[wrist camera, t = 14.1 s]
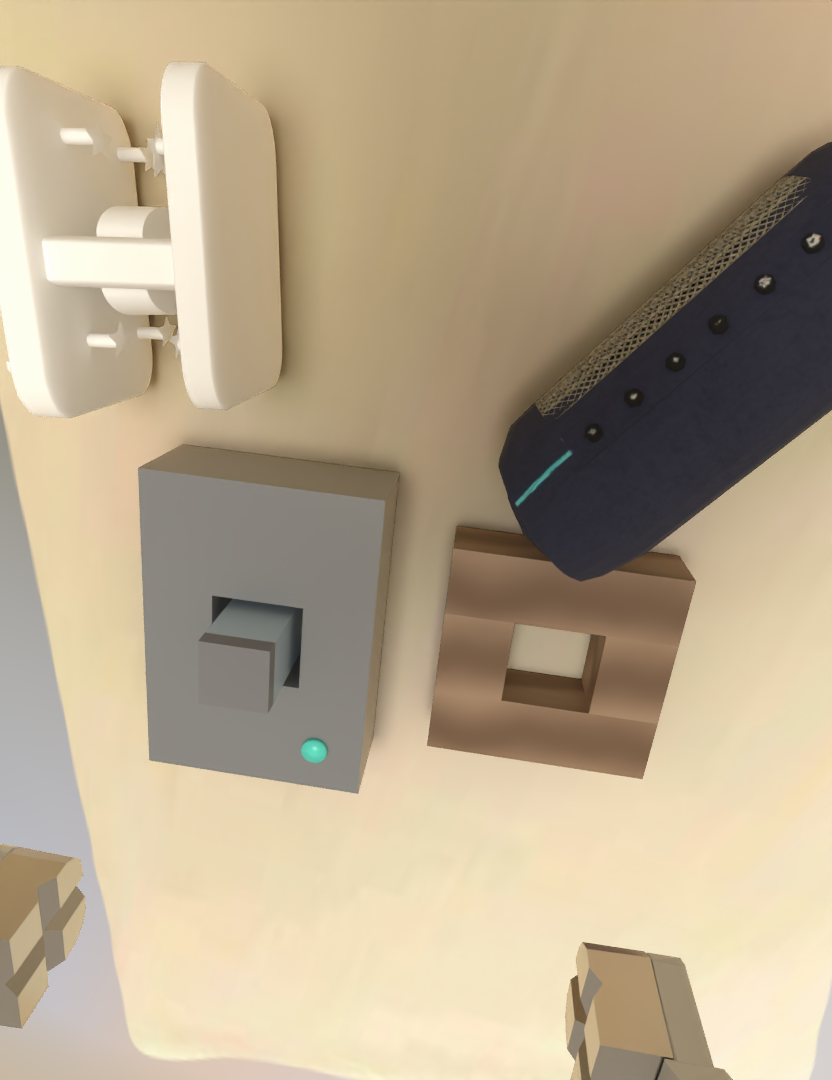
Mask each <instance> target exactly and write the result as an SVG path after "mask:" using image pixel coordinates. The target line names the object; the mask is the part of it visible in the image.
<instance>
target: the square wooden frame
mask: <svg viewBox="0 0 832 1080" xmlns="http://www.w3.org/2000/svg"><path fill="white" fill-rule="evenodd" d="M695 584H696V581H695V579H694V578H693V576H692V575H691V573H690V572H689V570H688V569H687V567H686V565H685V564H684V562H683V561H682V559H681V558H680V556H676V555H669V554H661V553H654V552H647V553H646V554H644V555H642V556H640V557H638V558H636V559H634V560H632V561H630V562H628V563H627V564H625V565H623V566H621V567H619V568H617V569H615V570H613V571H611V572H609V573H608V574H606V575H604V576H601V577H597V578H593V579H589V580H585V581H582V582H580V581H578V580H575V579H573V578H570V577H569V576H567V575H565V574H564V573H563V572H561V571H560V570H559V569H558V568H557V567H556V566H555V565H554V564H553V563H552V561H551V560H550V559H548V558H547V557H546V556H545V555H544V554H542V553H541V552H540V551H539V549H538V548H537V547H536V546H535V545H534V544H533V543H532V542H531V541H530V540H529V539H528V538H527V537H526V536H525V535H520V534H513V533H505V532H498V531H490V530H483V529H475V528H468V527H461V526H457V529H456V535H455V541H454V548H453V555H452V563H451V570H450V578H449V585H448V593H447V600H446V608H445V615H444V623H443V630H442V638H441V645H440V653H439V660H438V668H437V675H436V683H435V690H434V698H433V705H432V713H431V720H430V728H429V735H428V743H427V746H432V747H438V748H445V749H451V750H458V751H464V752H471V753H477V754H484V755H490V756H497V757H503V758H509V759H516V760H522V761H529V762H535V763H542V764H548V765H555V766H561V767H568V768H574V769H581V770H587V771H594V772H600V773H607V774H613V775H620V776H626V777H633V778H639V779H643V775H644V772H645V768H646V764H647V761H648V757H649V753H650V750H651V746H652V742H653V739H654V735H655V731H656V728H657V724H658V720H659V717H660V713H661V709H662V706H663V702H664V698H665V695H666V691H667V687H668V684H669V680H670V676H671V672H672V669H673V665H674V661H675V658H676V654H677V650H678V647H679V643H680V639H681V636H682V632H683V628H684V625H685V621H686V617H687V614H688V610H689V606H690V603H691V599H692V595H693V592H694V588H695ZM515 623H517V624H524V625H531V626H538V627H545V628H552V629H559V630H566V631H573V632H580V633H587V634H591V639H590V644H589V648H588V653H587V657H586V662H585V666H584V671H583V675H582V680H581V679H574V678H567V677H560V676H553V675H547V674H540V673H533V672H526V671H519V670H513V669H507V665H508V659H509V653H510V647H511V642H512V636H513V630H514V624H515Z"/></svg>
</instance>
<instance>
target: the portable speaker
mask: <svg viewBox="0 0 832 1080" xmlns="http://www.w3.org/2000/svg"><path fill="white" fill-rule="evenodd" d="M743 229H744V230H743ZM742 230H743V231H742ZM734 237H735V239H733V238H734ZM731 243H732V244H731ZM727 249H728V250H727ZM722 251H723V252H722ZM720 256H721V257H720ZM708 257H709V258H708ZM714 258H715V259H714ZM717 261H719V262H718V263H717ZM700 264H701V265H700ZM699 265H700V266H699ZM710 268H711V269H710ZM697 270H698V271H697ZM705 270H706V271H705ZM692 272H693V273H692ZM707 274H709V275H707ZM690 276H691V277H690ZM701 276H704V277H701ZM689 277H690V278H689ZM688 278H689V279H688ZM684 279H685V280H684ZM701 281H702V282H701ZM687 282H688V283H687ZM681 284H683V285H682V286H681ZM699 284H701V285H699ZM697 285H698V286H697ZM693 286H694V287H693ZM676 287H677V288H676ZM680 288H681V289H680ZM697 288H698V289H697ZM679 289H680V291H679ZM674 291H675V292H674ZM690 291H693V292H692V293H690ZM685 293H687V294H685ZM676 295H677V296H676ZM671 296H672V298H671ZM685 297H686V299H685V300H682V299H683V298H685ZM689 297H690V298H689ZM666 298H667V300H666ZM678 298H679V301H678ZM674 300H675V302H674ZM669 302H670V303H669ZM663 304H664V305H663ZM676 304H678V305H677V307H675V305H676ZM681 304H682V306H681ZM667 306H668V307H667ZM666 307H667V309H666ZM672 307H673V308H672ZM661 309H662V310H661ZM656 310H657V311H656ZM655 311H656V312H655ZM668 311H669V314H668ZM665 312H666V314H665ZM673 312H674V313H673ZM659 314H660V316H658V315H659ZM653 316H654V317H653ZM657 319H658V320H657ZM660 320H661V321H660ZM634 324H635V325H634ZM655 325H657V326H655ZM650 326H652V327H650ZM632 329H633V330H632ZM648 329H651V330H648ZM627 330H628V331H627ZM638 331H639V332H638ZM625 335H626V336H625ZM642 335H644V336H643V337H640V336H642ZM624 336H625V337H624ZM620 337H621V338H620ZM636 337H638V338H636ZM619 338H620V339H619ZM615 339H616V340H615ZM623 340H624V341H623ZM618 341H619V343H617V342H618ZM626 343H627V344H626ZM612 344H613V345H612ZM628 344H630V345H628ZM616 346H617V347H616ZM615 347H616V348H615ZM610 348H612V349H611V350H610ZM618 350H619V352H618ZM605 351H606V352H605ZM613 352H614V353H613ZM608 353H609V355H608ZM603 355H604V356H603ZM602 356H603V357H602ZM611 356H612V357H611ZM605 359H607V360H605ZM600 360H601V361H600ZM831 410H832V142H830V143H827V144H825V145H823V146H822V147H820V148H818V149H816V150H814V151H812V152H811V153H810V154H809V155H808V156H806V157H805V158H804V159H803V160H802V161H801V162H799V163H798V164H797V165H796V166H795V167H794V168H792V169H791V170H790V171H789V172H788V173H787V174H785V175H784V176H783V177H782V178H781V179H780V180H778V181H777V182H776V183H775V184H774V185H773V186H772V187H771V188H769V189H768V191H767V192H765V193H764V194H763V195H762V196H761V197H760V198H759V199H758V200H757V201H755V202H754V203H753V204H752V205H751V206H750V207H749V208H748V209H747V210H745V211H744V212H743V213H742V214H741V215H740V216H739V217H738V218H737V219H735V221H734V222H733V223H731V224H730V225H729V226H728V227H727V228H726V229H725V230H724V231H723V232H721V233H720V234H719V235H718V236H717V237H716V238H715V239H714V240H713V241H711V242H710V243H709V244H708V245H707V246H706V247H705V248H704V249H703V250H702V251H701V252H700V253H699V254H697V255H696V256H695V257H694V258H693V259H692V260H691V261H690V262H688V263H687V264H686V265H685V266H684V267H683V268H682V269H681V270H680V271H679V272H678V273H677V274H676V275H674V276H673V277H672V278H671V279H670V280H669V281H668V282H667V283H665V284H664V285H663V286H662V287H661V288H660V289H659V290H658V291H657V292H656V293H655V294H654V295H653V296H651V297H650V298H649V299H648V300H647V301H646V302H645V303H644V304H642V305H641V306H640V307H639V308H638V309H637V310H636V311H635V312H634V313H633V314H632V315H631V316H629V317H628V318H627V319H626V320H625V321H624V322H623V323H622V324H621V325H619V326H618V327H617V328H616V329H615V330H614V331H613V332H612V333H611V334H610V335H609V336H608V337H606V338H605V339H604V340H603V341H602V342H601V343H600V344H599V345H597V346H596V347H595V348H594V349H593V350H592V351H591V352H590V353H589V354H588V355H587V356H586V357H584V358H583V359H582V360H581V361H580V362H579V363H578V364H577V365H576V366H575V367H574V368H572V369H571V370H570V371H569V372H568V373H567V374H566V375H565V376H564V377H562V378H561V379H560V380H559V381H558V382H557V383H556V384H555V385H554V386H553V387H552V388H550V389H549V390H548V391H547V392H546V393H545V394H544V395H543V396H542V397H541V398H540V399H539V400H537V401H536V402H535V403H534V404H533V405H532V406H531V407H530V408H529V409H528V410H527V411H526V412H525V413H524V414H523V415H522V416H521V417H520V418H519V419H518V420H517V421H516V422H515V423H514V424H513V425H512V426H511V428H510V430H509V432H508V435H507V438H506V441H505V444H504V447H503V450H502V453H501V456H500V459H499V470H500V473H501V476H502V479H503V482H504V485H505V488H506V491H507V494H508V499H509V502H510V505H511V507H512V510H513V512H514V514H515V516H516V518H517V521H518V523H519V525H520V527H521V529H522V532H523V534H524V535H525V536H526V537H527V538H528V539H529V540H530V541H531V542H532V543H533V544H534V545H535V546H536V547H537V548H538V549H539V551H540V552H541V553H542V554H544V555H545V556H546V557H547V558H548V559H550V560H551V561H552V563H553V564H554V565H555V566H556V567H557V568H558V569H559V570H560V571H561V572H563V573H564V574H565V575H567V576H569V577H570V578H573V579H575V580H578V581H580V582H582V581H585V580H589V579H593V578H597V577H601V576H604V575H606V574H608V573H609V572H611V571H613V570H615V569H617V568H619V567H621V566H623V565H625V564H627V563H628V562H630V561H632V560H634V559H636V558H638V557H640V556H642V555H644V554H646V553H647V552H648V551H650V550H651V549H652V548H653V547H655V546H656V545H657V544H659V543H660V542H661V541H663V540H664V539H665V538H666V537H668V536H669V535H670V534H672V533H673V532H674V531H675V530H677V529H678V528H679V527H681V526H682V525H683V524H685V523H686V522H687V521H688V520H690V519H691V518H692V517H694V516H695V515H696V514H697V513H699V512H700V511H701V510H703V509H704V508H705V507H707V506H708V505H709V504H710V503H712V502H713V501H714V500H716V499H717V498H718V497H720V496H721V495H722V494H723V493H725V492H726V491H727V490H729V489H730V488H731V487H732V486H734V485H735V484H736V483H738V482H739V481H740V480H742V479H743V478H744V477H745V476H747V475H748V474H749V473H751V472H752V471H753V470H754V469H756V468H757V467H758V466H760V465H761V464H762V463H764V462H765V461H766V460H767V459H769V458H770V457H771V456H773V455H774V454H775V453H776V452H778V451H779V450H780V449H782V448H783V447H784V446H786V445H787V444H788V443H789V442H791V441H792V440H793V439H795V438H796V437H797V436H798V435H800V434H801V433H802V432H804V431H805V430H806V429H808V428H809V427H810V426H811V425H813V424H814V423H815V422H817V421H818V420H819V419H821V418H822V417H823V416H824V415H826V414H827V413H828V412H830V411H831Z"/></svg>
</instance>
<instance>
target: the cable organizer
mask: <svg viewBox="0 0 832 1080" xmlns="http://www.w3.org/2000/svg"><path fill="white" fill-rule="evenodd" d="M160 110H161V125H162V137H163V138H162V137H161V134H160V130H159V126H158V122H157V126H156V134H155V139H147V142H148V144H147V148H141V147H139V148H135V147H131V144H130V140H129V137H128V133H127V130H126V128H125V125H124V123H123V121H122V119H121V117H120V115H119V114H118V112H117V111H116V110H115V109H114V108H112V107H110V106H108V105H106V104H104V103H101V102H99V101H97V100H95V99H92V98H90V97H88V96H86V95H84V94H81V93H79V92H77V91H75V90H72V89H70V88H68V87H66V86H63V85H61V84H59V83H57V82H54V81H52V80H50V79H48V78H45V77H43V76H41V75H39V74H36V73H34V72H32V71H30V70H28V69H25V68H23V67H19V66H0V308H1V313H0V315H2V320H3V326H4V332H5V338H6V344H7V350H8V356H9V361H6V363H7V368H8V370H9V372H11V374H12V378H13V382H14V385H15V388H16V391H17V396H18V397H19V398H20V399H21V401H22V403H23V404H24V406H25V407H26V408H27V410H28V411H30V412H31V413H32V414H34V415H36V416H39V417H55V418H73V417H76V416H79V415H82V414H85V413H88V412H91V411H94V410H97V409H100V408H103V407H106V406H109V405H112V404H115V403H118V402H121V401H124V400H128V399H131V398H134V397H137V396H140V395H142V394H144V393H145V392H146V390H147V388H148V386H149V383H150V379H151V374H152V346H151V339H160V340H163V346H164V345H165V344H166V343H167V342H168V341H170V342H171V343H173V344H174V345H175V346H176V349H175V359H176V358H177V357H178V355H179V354H181V365H182V373H183V379H184V383H185V387H186V390H187V393H188V395H189V398H190V400H191V401H192V403H193V404H194V405H195V406H196V407H197V408H200V409H218V410H227V409H230V408H232V407H234V406H236V405H238V404H240V403H242V402H244V401H246V400H248V399H250V398H252V397H254V396H256V395H258V394H260V393H262V392H264V391H266V390H268V389H270V388H272V387H274V386H275V385H276V384H277V382H278V379H279V375H280V370H281V363H282V324H281V294H280V264H279V234H278V204H277V174H276V152H275V142H274V135H273V130H272V125H271V121H270V118H269V115H268V112H267V110H266V109H265V107H264V106H263V105H262V104H260V103H259V102H258V101H256V100H255V99H254V98H252V97H251V96H250V95H248V94H247V93H246V92H244V91H243V90H242V89H240V88H239V87H238V86H236V85H235V84H234V83H232V82H231V81H230V80H228V79H227V78H226V77H224V76H223V75H222V74H220V73H219V72H218V71H216V70H215V69H213V68H212V67H211V66H209V65H208V64H207V63H205V62H171V63H170V64H168V65H167V67H166V69H165V72H164V75H163V79H162V84H161V96H160ZM134 162H145V172H146V171H147V170H149V169H150V168H152V169H153V170H154V178H155V176H156V175H157V174H158V173H159V172H160V171H161V170H162V172H163V173H164V175H165V176H166V185H167V197H168V208H167V207H140V206H138V201H137V191H136V180H135V170H134ZM158 175H159V174H158ZM174 314H177V318H178V331H177V335H175V336H173V332H174V330H175V328H176V325H170V324H169V321H168V319H167V316H166V318H165V323H164V326H162V327H150V325H149V315H174Z"/></svg>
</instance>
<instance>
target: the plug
mask: <svg viewBox="0 0 832 1080" xmlns="http://www.w3.org/2000/svg"><path fill="white" fill-rule="evenodd" d="M302 619H303V608H296V607H289V606H282V605H275V604H268V603H261V602H254V601H247V600H240V599H232V600H231V601H230V603H229V604H228V605H227V606H226V608H225V609H224V610H223V611H222V612H221V614H220V615H219V616H218V617H217V619H216V620H215V621H214V622H213V623H212V625H211V626H210V627H209V628H208V629H207V631H206V632H205V633H204V634H203V636H202V637H201V638H200V639H199V640H198V699H199V704H206V705H212V706H219V707H225V708H232V709H238V710H245V711H251V712H258V713H264V714H268V713H269V711H270V709H271V707H272V705H273V703H274V701H275V700H276V698H277V696H278V694H279V692H280V690H281V688H282V686H283V684H284V682H285V680H286V679H287V677H288V675H289V673H290V671H291V669H292V667H293V665H294V663H295V661H296V659H297V657H298V656H299V654H300V652H301V638H302Z"/></svg>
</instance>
